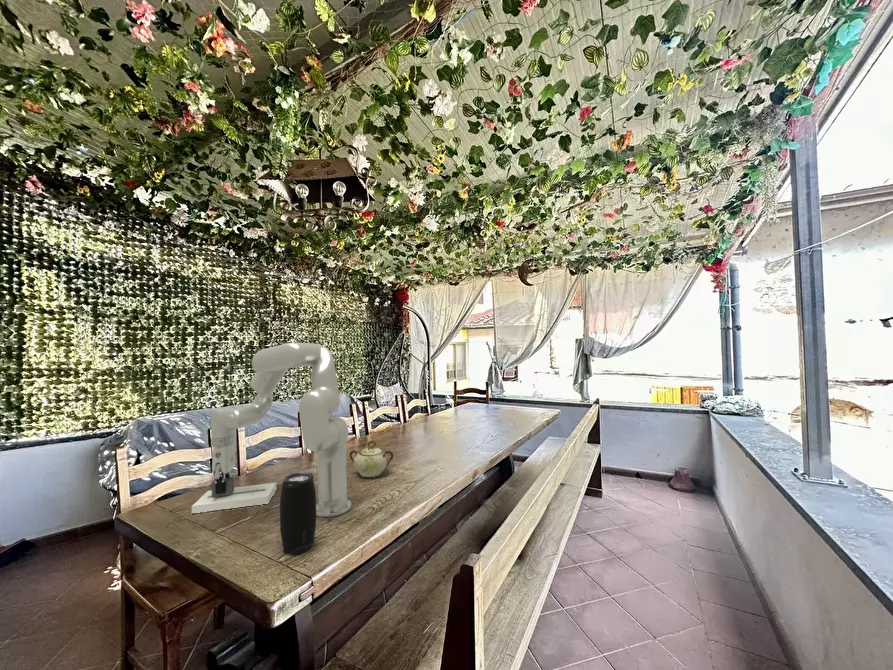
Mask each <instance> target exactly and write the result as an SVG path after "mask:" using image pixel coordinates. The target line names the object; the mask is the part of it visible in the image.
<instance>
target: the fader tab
mask: <svg viewBox="0 0 893 670" xmlns="http://www.w3.org/2000/svg"><path fill="white" fill-rule="evenodd" d="M225 481H226V492H225V493H221V494H215V480H213V481H212V482H211V490H212V497H217V496H225V495H231V493H232V492H233V491H234V488H235V477H234V476H233V477H231V478H225Z"/></svg>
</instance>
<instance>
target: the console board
mask: <svg viewBox="0 0 893 670" xmlns="http://www.w3.org/2000/svg"><path fill="white" fill-rule="evenodd" d="M275 491H277V482H269V483H268V482H267V483H261V484H253V485H252V484H251V485H245V486H238V487H237V486H236V487H235V486H234V491H233V492H232V493H231V495H225V496H217V497H212V489H211V490H207V491H206V492H205V493H204V494H203V495H202V496H201V497H200V498H199V499H198V500H196V501H195V503H193V504H192V505H191V514H192V513H200V512H207V511H213V510H221V509H230V508H238V507H245V506H253V505H261V506H263V505H262V504H268V503H269V504H270V502H271V501H272V499H273V497H274V495H275V493H276V492H275ZM272 496H273V497H272ZM271 498H272V499H271ZM270 500H271V501H270ZM269 504H268V505H269Z"/></svg>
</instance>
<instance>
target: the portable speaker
mask: <svg viewBox="0 0 893 670" xmlns="http://www.w3.org/2000/svg"><path fill="white" fill-rule="evenodd" d="M280 492H281V493H280V501H279V522H280V523H279V524H280V525H279V526H280V527H279V529H280V530H279V531H280V538H281V544H282V548H283V553H287V552H290V553H293V555H296V556H298V555H302V554H304V553H306V552H308V551H309V550H310V549H311V546H312V545H313V543H314V542H315V534H316V525H317V515H316V505H317V493H316V487H315V482H314V474H313V473H312V472H309V473H301V472H294V473H290V474H288V475H286V476H285V478H284V479H283V481H282V487H281V491H280ZM301 553H302V554H301Z"/></svg>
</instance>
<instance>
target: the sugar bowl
mask: <svg viewBox="0 0 893 670" xmlns="http://www.w3.org/2000/svg"><path fill="white" fill-rule="evenodd" d="M371 443H373V446H370V445H371ZM376 445H377V444H376V441H374V440H370V441H368V443H367V447H366V448H364V449H361V450H355V449H353V450H352V451H350V452H349V458H350V460H351V461H352V463H353V465H354V466H355V470H356V471H357V472H358V473H359V474H360V476H361V477H362V478H364V477H374V478H376V477H375V476H377V477H379V476H381V475H380V474H382V473H383V471H384V470H385V469H386V468H387V467H388V465H389V464H390V462H391V461H392V460H393V458H394V454H393V451H391V450H386V451H385V450H384V449H382V448H378V447H377V446H376ZM352 454H355V456H354V458H353V456H352ZM387 454H389V455H390V458H389V457H388V455H387ZM378 475H379V476H378Z"/></svg>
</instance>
